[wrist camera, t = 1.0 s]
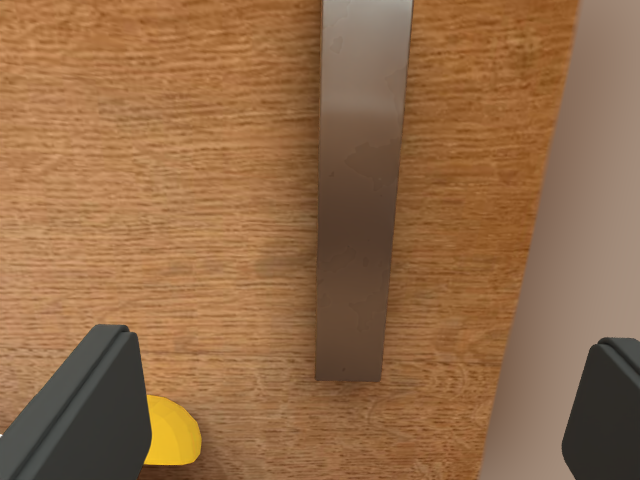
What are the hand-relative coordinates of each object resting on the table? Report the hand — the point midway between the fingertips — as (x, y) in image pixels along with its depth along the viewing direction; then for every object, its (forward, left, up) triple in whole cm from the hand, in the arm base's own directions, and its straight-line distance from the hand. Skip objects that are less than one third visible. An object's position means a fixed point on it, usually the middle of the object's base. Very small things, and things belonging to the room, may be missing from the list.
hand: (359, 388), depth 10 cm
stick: (-1, +1, -12) cm, 12 cm away
